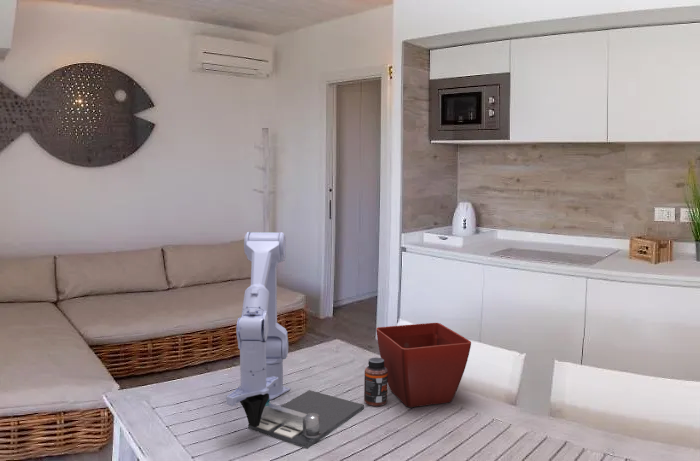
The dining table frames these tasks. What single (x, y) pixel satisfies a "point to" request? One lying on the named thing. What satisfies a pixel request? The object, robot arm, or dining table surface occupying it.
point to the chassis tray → (326, 406)
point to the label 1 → (267, 424)
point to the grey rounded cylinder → (312, 426)
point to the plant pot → (423, 362)
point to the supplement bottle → (375, 382)
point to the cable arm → (284, 416)
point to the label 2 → (287, 431)
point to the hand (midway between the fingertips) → (254, 425)
